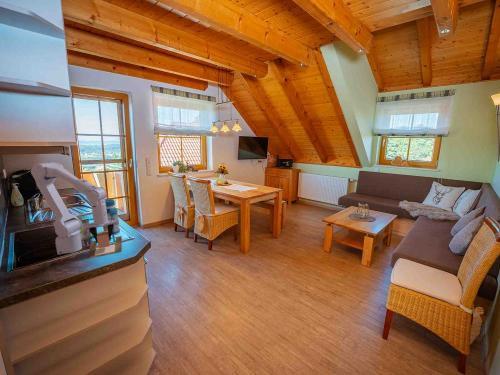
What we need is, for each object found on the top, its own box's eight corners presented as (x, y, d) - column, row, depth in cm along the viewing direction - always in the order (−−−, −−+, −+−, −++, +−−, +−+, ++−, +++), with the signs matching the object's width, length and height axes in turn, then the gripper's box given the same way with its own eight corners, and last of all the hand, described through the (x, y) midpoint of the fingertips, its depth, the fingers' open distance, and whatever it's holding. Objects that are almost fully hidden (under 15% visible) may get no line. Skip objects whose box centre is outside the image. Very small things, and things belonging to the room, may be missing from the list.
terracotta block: (98, 248, 111) (96, 236, 110) (99, 243, 117) (97, 232, 115) (109, 246, 113) (108, 234, 112) (110, 241, 119) (108, 230, 117)
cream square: (94, 256, 109) (94, 255, 109) (96, 248, 117) (96, 247, 117) (114, 252, 113) (114, 251, 113) (114, 244, 121) (114, 244, 121)
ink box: (79, 243, 126) (75, 219, 124) (73, 243, 127) (69, 219, 124) (91, 238, 133) (87, 215, 130) (85, 237, 134) (81, 214, 131)
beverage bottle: (121, 234, 138) (117, 200, 134) (104, 237, 133) (99, 203, 129) (119, 229, 145) (114, 197, 141) (102, 233, 140) (98, 200, 136)
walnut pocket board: (86, 261, 107) (86, 259, 107) (92, 243, 126) (91, 241, 126) (121, 254, 113) (121, 251, 113) (121, 238, 132) (121, 235, 132)
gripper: (79, 218, 105) (84, 247, 107) (117, 213, 111) (121, 240, 114) (82, 214, 111) (86, 241, 114) (117, 209, 117) (121, 235, 120)
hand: (103, 241), depth 114 cm, fingers closed on terracotta block, 4 cm apart
